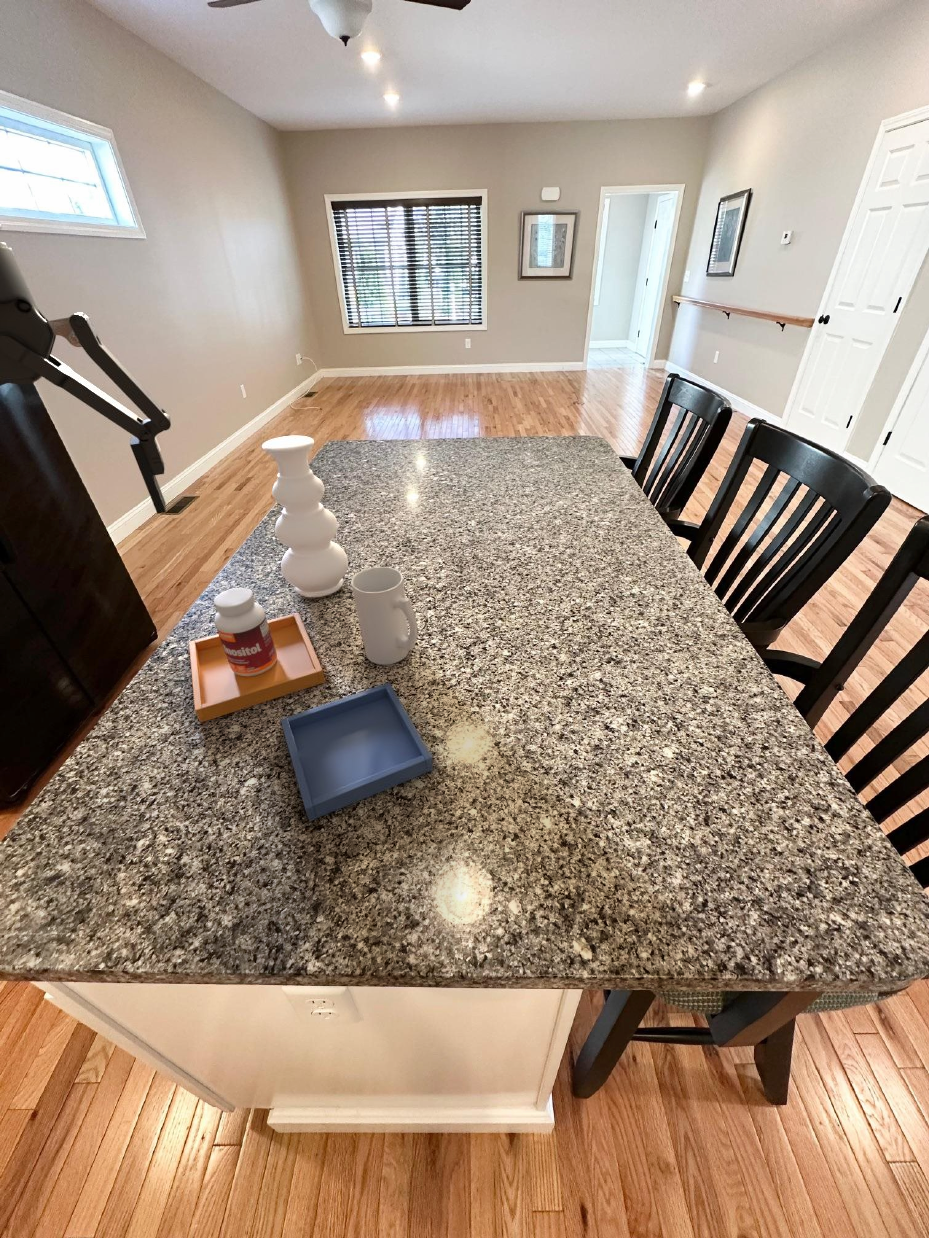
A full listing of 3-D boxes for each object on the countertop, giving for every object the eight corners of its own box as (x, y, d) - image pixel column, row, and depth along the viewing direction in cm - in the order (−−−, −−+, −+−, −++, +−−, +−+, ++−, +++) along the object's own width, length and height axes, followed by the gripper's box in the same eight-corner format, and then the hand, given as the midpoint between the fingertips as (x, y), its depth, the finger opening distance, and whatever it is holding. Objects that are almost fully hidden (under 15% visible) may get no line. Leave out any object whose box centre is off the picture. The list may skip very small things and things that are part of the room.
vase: (312, 568, 95) (280, 428, 80) (363, 577, 91) (340, 433, 77) (274, 598, 86) (231, 448, 72) (329, 610, 83) (296, 455, 69)
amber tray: (200, 722, 63) (194, 710, 62) (193, 653, 75) (188, 641, 73) (325, 682, 69) (322, 670, 67) (301, 623, 80) (298, 612, 79)
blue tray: (309, 821, 51) (305, 808, 50) (284, 731, 61) (280, 719, 60) (433, 769, 56) (432, 757, 55) (391, 694, 66) (389, 682, 65)
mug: (354, 653, 73) (340, 581, 67) (389, 631, 78) (379, 561, 71) (402, 683, 68) (392, 608, 61) (437, 658, 72) (431, 585, 65)
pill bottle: (225, 679, 69) (198, 611, 62) (239, 651, 74) (215, 585, 67) (272, 676, 69) (250, 608, 63) (282, 648, 74) (263, 582, 68)
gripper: (142, 238, 43) (219, 485, 55) (-279, 244, 34) (-76, 537, 46) (140, 233, 37) (227, 509, 49) (-365, 239, 28) (-108, 573, 40)
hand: (81, 523), depth 48 cm, fingers open, 13 cm apart
